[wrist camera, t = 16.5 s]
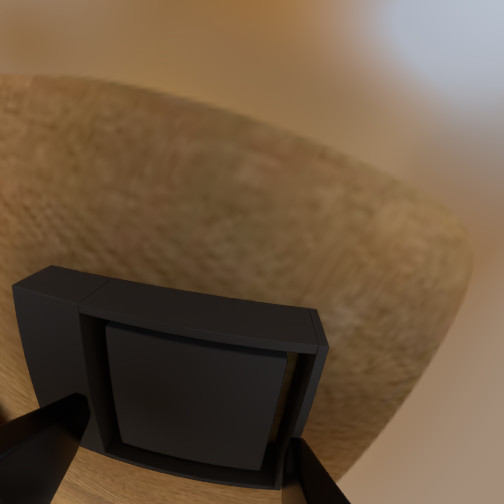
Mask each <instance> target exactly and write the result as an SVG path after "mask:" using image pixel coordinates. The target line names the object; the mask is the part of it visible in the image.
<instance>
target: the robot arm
mask: <svg viewBox="0 0 504 504" xmlns="http://www.w3.org/2000/svg"><path fill="white" fill-rule="evenodd" d="M90 416H91V412H90V407H89V403H88V399H87V397H86V396H85V395H83V394H80V393H77V392H75V393H73V394H70V395H68V396H66V397H64V398H62V399H59V400H57V401H55V402H53V403H50V404H48V405H46V406H44V407H41V408H39V409H37V410H34V411H32V412H30V413H28V414H25V415H23V416H21V417H18V418H16V419H13V420H11V421H9V422H6V423H4V424H1V425H0V504H50V503H51V501H52V499H53V497H54V495H55V493H56V491H57V489H58V487H59V485H60V483H61V481H62V479H63V477H64V475H65V474H66V472H67V470H68V468H69V466H70V464H71V462H72V460H73V458H74V457H75V454H76V452H77V450H78V448H79V445H80V443H81V440H82V438H83V435H84V432H85V430H86V427H87V425H88V422H89V420H90ZM282 504H351V503H350V502H349V501H348V499H347V498H346V497H345V495H344V494H343V493H342V491H341V490H340V489H339V487H338V486H337V485H336V483H335V482H334V481H333V479H332V478H331V476H330V475H329V474H328V472H327V471H326V470H325V468H324V467H323V465H322V464H321V463H320V461H319V460H318V458H317V457H316V456H315V454H314V453H313V451H312V450H311V449H310V447H309V446H308V444H307V443H306V441H305V440H304V439H303V438H297V437H291V438H290V439H289V441H288V444H287V447H286V450H285V453H284V461H283V478H282Z"/></svg>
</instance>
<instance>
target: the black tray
mask: <svg viewBox="0 0 504 504" xmlns="http://www.w3.org/2000/svg"><path fill="white" fill-rule="evenodd" d="M12 290H13V297H14V304H15V310H16V316H17V321H18V327H19V332H20V337H21V341H22V346H23V350H24V354H25V358H26V362H27V366H28V370H29V374H30V377H31V381H32V384H33V387H34V391H35V394H36V397H37V400H38V403H39V406H40V408H41V407H44V406H46V405H48V404H50V403H53V402H55V401H57V400H59V399H62V398H64V397H66V396H68V395H70V394H73V393H75V392H77V393H80V394H83V395H85V396H86V397H87V399H88V403H89V407H90V412H91V416H90V420H89V422H88V425H87V427H86V430H85V432H84V435H83V438H82V440H81V443H80V445H79V446H81V447H83V448H86V449H88V450H91V451H94V452H96V453H99V454H102V455H105V456H107V457H110V458H113V459H116V460H119V461H122V462H125V463H128V464H132V465H135V466H138V467H142V468H145V469H149V470H153V471H157V472H161V473H165V474H169V475H173V476H178V477H182V478H187V479H192V480H197V481H203V482H209V483H215V484H221V485H228V486H236V487H245V488H254V489H266V490H281V487H282V478H283V461H284V453H285V450H286V447H287V444H288V441H289V439H290V438H291V437H297V438H301V435H302V432H303V429H304V426H305V423H306V420H307V418H308V415H309V412H310V409H311V405H312V402H313V399H314V396H315V393H316V390H317V387H318V383H319V380H320V377H321V373H322V370H323V367H324V363H325V360H326V356H327V353H328V349H329V345H328V342H327V339H326V336H325V333H324V330H323V327H322V324H321V321H320V318H319V315H318V312H317V310H316V309H308V308H300V307H292V306H284V305H277V304H269V303H262V302H255V301H248V300H241V299H234V298H227V297H220V296H214V295H207V294H201V293H195V292H189V291H183V290H177V289H171V288H165V287H159V286H154V285H148V284H143V283H137V282H132V281H126V280H121V279H116V278H110V277H105V276H100V275H95V274H90V273H85V272H80V271H75V270H71V269H66V268H61V267H57V266H52V265H51V266H49V267H47V268H45V269H43V270H41V271H39V272H37V273H35V274H33V275H31V276H29V277H27V278H25V279H23V280H21V281H19V282H17V283H15V284H13V285H12ZM110 321H115V322H119V323H123V324H127V325H132V326H136V327H141V328H146V329H150V330H155V331H160V332H165V333H170V334H175V335H181V336H186V337H191V338H197V339H203V340H209V341H215V342H221V343H227V344H234V345H241V346H248V347H255V348H263V349H271V350H279V351H288V352H297V353H298V357H297V362H296V366H295V370H294V374H293V378H292V382H291V386H290V389H289V393H288V397H287V401H286V405H285V408H284V412H283V416H282V419H281V423H280V427H279V430H278V434H277V437H276V441H275V444H267V447H266V451H265V454H264V458H263V462H262V465H261V469H260V470H259V471H258V470H249V469H241V468H233V467H227V466H220V465H214V464H208V463H203V462H198V461H193V460H188V459H183V458H179V457H174V456H170V455H166V454H162V453H158V452H154V451H150V450H147V449H143V448H140V447H136V446H133V445H130V444H126V443H123V442H122V440H121V435H120V430H119V425H118V420H117V414H116V409H115V403H114V397H113V390H112V383H111V376H110V369H109V360H108V352H107V342H106V330H105V327H106V325H107V324H108V323H109V322H110Z"/></svg>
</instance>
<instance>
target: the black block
mask: <svg viewBox="0 0 504 504" xmlns="http://www.w3.org/2000/svg"><path fill="white" fill-rule="evenodd" d="M105 330H106V342H107V352H108V360H109V369H110V376H111V383H112V390H113V397H114V403H115V409H116V414H117V420H118V425H119V430H120V435H121V440H122V442H123V443H126V444H130V445H133V446H136V447H140V448H143V449H147V450H150V451H154V452H158V453H162V454H166V455H170V456H174V457H179V458H183V459H188V460H193V461H198V462H203V463H208V464H214V465H220V466H227V467H233V468H241V469H249V470H258V471H259V470H260V469H261V465H262V462H263V458H264V454H265V451H266V447H267V443H268V439H269V436H270V432H271V428H272V424H273V420H274V416H275V412H276V408H277V404H278V400H279V396H280V392H281V387H282V383H283V379H284V374H285V370H286V366H287V361H288V357H287V351H279V350H271V349H263V348H255V347H248V346H241V345H234V344H227V343H221V342H215V341H209V340H203V339H197V338H191V337H186V336H181V335H175V334H170V333H165V332H160V331H155V330H150V329H146V328H141V327H136V326H132V325H127V324H123V323H119V322H115V321H110V322H109V323H108V324H107V325H106V327H105Z"/></svg>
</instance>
